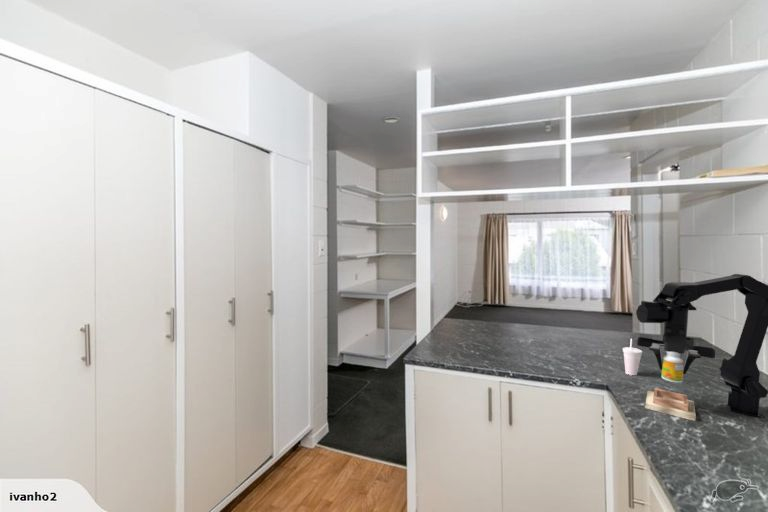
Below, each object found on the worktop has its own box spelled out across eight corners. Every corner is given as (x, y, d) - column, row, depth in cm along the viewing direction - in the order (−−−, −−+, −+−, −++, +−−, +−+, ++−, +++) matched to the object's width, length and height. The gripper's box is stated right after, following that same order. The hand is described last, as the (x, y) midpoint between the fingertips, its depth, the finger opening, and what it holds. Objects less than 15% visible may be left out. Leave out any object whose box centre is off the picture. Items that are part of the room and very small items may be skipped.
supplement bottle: (657, 375, 117) (658, 346, 116) (674, 376, 116) (675, 346, 116) (669, 383, 111) (671, 352, 110) (687, 383, 111) (689, 352, 110)
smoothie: (622, 369, 145) (624, 335, 144) (641, 373, 141) (643, 338, 140) (620, 374, 140) (622, 339, 139) (640, 378, 136) (642, 342, 135)
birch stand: (693, 405, 115) (694, 395, 115) (695, 421, 106) (696, 409, 106) (647, 394, 123) (648, 384, 123) (645, 408, 114) (646, 397, 113)
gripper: (637, 323, 112) (634, 372, 113) (718, 334, 100) (714, 388, 102) (639, 316, 121) (637, 362, 122) (715, 326, 109) (711, 376, 110)
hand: (672, 371), depth 114 cm, fingers closed on supplement bottle, 5 cm apart
